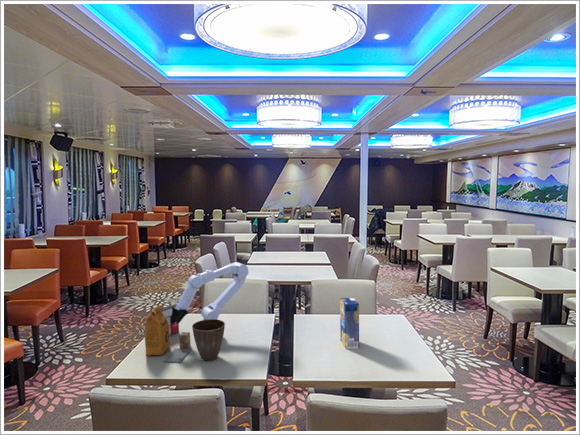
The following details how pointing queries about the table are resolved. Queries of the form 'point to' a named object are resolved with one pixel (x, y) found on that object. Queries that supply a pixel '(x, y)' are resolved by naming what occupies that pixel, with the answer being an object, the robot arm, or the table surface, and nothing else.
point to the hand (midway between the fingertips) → (174, 322)
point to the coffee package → (156, 333)
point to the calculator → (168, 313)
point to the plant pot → (208, 338)
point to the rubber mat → (177, 355)
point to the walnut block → (184, 340)
